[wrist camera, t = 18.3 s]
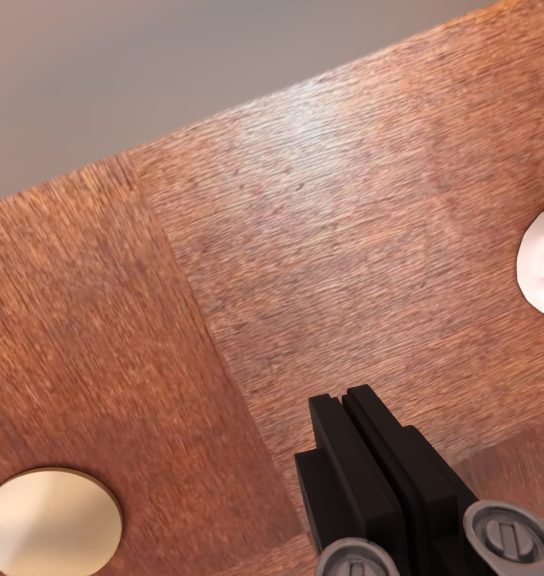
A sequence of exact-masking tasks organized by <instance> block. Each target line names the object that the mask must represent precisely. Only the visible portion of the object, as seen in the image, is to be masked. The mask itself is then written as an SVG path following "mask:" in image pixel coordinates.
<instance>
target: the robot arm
mask: <svg viewBox="0 0 544 576" xmlns="http://www.w3.org/2000/svg"><path fill="white" fill-rule="evenodd" d="M342 405H343V406H342ZM309 407H310V413H311V419H312V424H313V430H314V436H315V442H316V447H317V449H313V450H309V451H305V452H301V453H297V454H294V457H295V463H296V468H297V473H298V478H299V483H300V488H301V492H302V497H303V501H304V505H305V509H306V513H307V517H308V520H309V524H310V527H311V531H312V535H313V538H314V542H315V546H316V549H317V553H318V557H319V558H318V560H317V563H316V566H315V569H314V576H544V520H543V519H542V518H541V517H539V516H538V515H536V514H535V513H533V512H532V511H530V510H529V509H527V508H525V507H523V506H520V505H518V504H516V503H513V502H509V501H505V500H500V499H485V500H481V501H479V500H478V498H477V497H476V496H475V495H474V494H473V493H472V492H471V490H470V489H469V488H468V487H467V486H466V485H465V483H464V482H463V481H462V480H461V479H460V478H459V477H458V475H457V474H456V473H455V472H454V471H453V470H452V469H451V467H450V466H449V465H448V464H447V463H446V462H445V460H444V459H443V458H442V457H441V456H440V455H439V454H438V452H437V451H436V450H435V449H434V448H433V447H432V446H431V444H430V443H429V442H428V441H427V440H426V439H425V437H424V436H423V435H422V434H421V433H420V432H419V431H418V429H416V428H415V427H414V426H412V425H408V426H404V427H402V426H401V424H400V423H399V422H398V421H397V420H396V418H395V417H394V416H393V415H392V413H391V412H390V411H389V410H388V408H387V407H386V406H385V405H384V403H383V402H382V401H381V400H380V399H379V397H378V396H377V395H376V394H375V392H374V391H373V390H372V389H371V387H370V386H369V385H368V384H365V385H360V386H356V387H352V388H348V389H347V394H346V395H342V404H341V403H340V401H339V399H338V398H337V397H333V398H331V397H330V395H329V394H328V393H327V394H323V395H319V396H314V397H310V398H309Z"/></svg>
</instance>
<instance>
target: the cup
mask: <svg viewBox="0 0 544 576" xmlns="http://www.w3.org/2000/svg"><path fill="white" fill-rule="evenodd" d="M517 279H518V283H519V286H520V288H521V290H522V292H523V294H524V296H525V297H526V299H527V300H528V301H529V302H530V303H531V304H532V305H533V306H534V307H535V308H537V309H538V310H539V311H541V312H542V313H544V211H543V212H542V213H541V214H540V215H539V216H538V217H537V218H536V219H535V221H534V222H533V223H532V224H531V226H530V227H529V228H528V230H527V231H526V233H525V234H524V237H523V240H522V243H521V246H520V249H519V253H518V257H517Z"/></svg>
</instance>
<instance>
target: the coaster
mask: <svg viewBox="0 0 544 576" xmlns="http://www.w3.org/2000/svg"><path fill="white" fill-rule="evenodd" d="M122 531H123V517H122V512H121V508H120V506H119V504H118V501H117V500H116V498H115V496H114V495H113V494H112V492H111V491H110V490H109V489H108V488H107V487H106V486H105V485H104V484H102V483H101V482H100V481H98V480H97V479H95V478H94V477H92V476H90V475H88V474H86V473H83V472H80V471H77V470H73V469H69V468H61V467H45V468H37V469H33V470H29V471H26V472H23V473H20V474H18V475H16V476H14V477H12V478H10V479H8V480H7V481H5V482H4V483H3V484H1V485H0V571H1V572H3V573H4V574H6V575H8V576H90V575H92V574H93V573H95V572H97V571H98V570H99V569H100V568H102V567H103V566H104V565H105V564H106V563H107V562H108V561H109V560H110V558H111V557H112V556H113V554H114V553H115V551H116V549H117V547H118V545H119V542H120V539H121V536H122Z"/></svg>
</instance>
